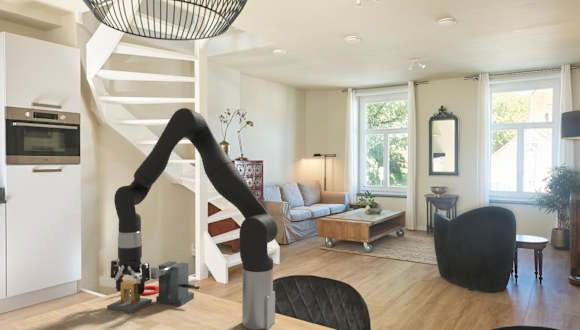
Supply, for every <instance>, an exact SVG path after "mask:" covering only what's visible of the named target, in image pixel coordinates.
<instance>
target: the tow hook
mask: <svg viewBox="0 0 580 330" xmlns="http://www.w3.org/2000/svg"><path fill="white" fill-rule="evenodd" d="M140 269H141V268H140ZM136 274H139V273H138V272H137V273H136ZM139 278H140V277H139ZM135 281H137V280H136V279H135ZM144 289H145V290H151V289H152V291H144V292H143V293H142V294H140V296H153V295H156V294H159V285H158V286H157V285H145V288H144Z"/></svg>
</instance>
